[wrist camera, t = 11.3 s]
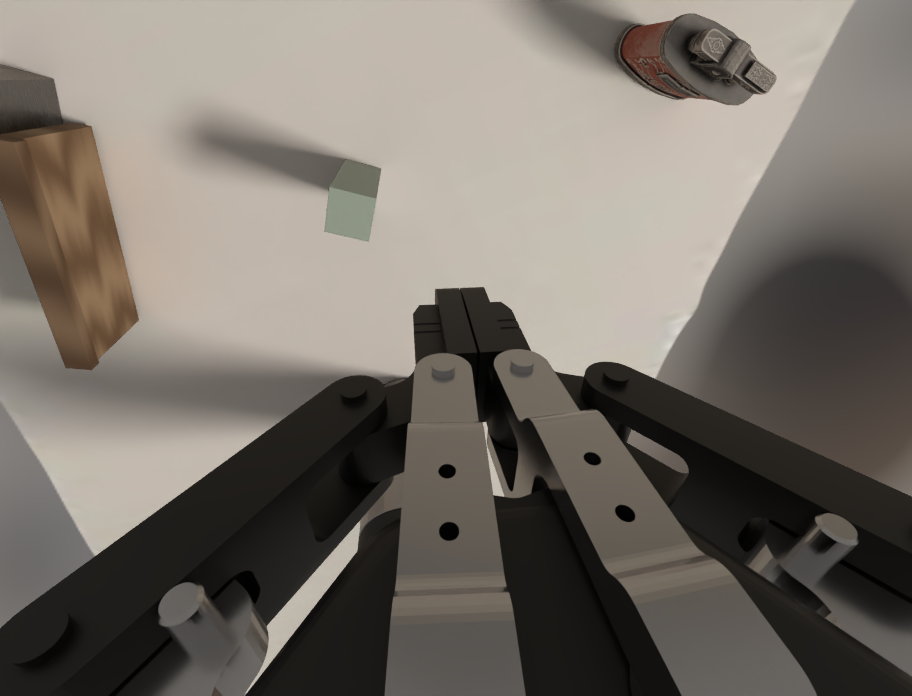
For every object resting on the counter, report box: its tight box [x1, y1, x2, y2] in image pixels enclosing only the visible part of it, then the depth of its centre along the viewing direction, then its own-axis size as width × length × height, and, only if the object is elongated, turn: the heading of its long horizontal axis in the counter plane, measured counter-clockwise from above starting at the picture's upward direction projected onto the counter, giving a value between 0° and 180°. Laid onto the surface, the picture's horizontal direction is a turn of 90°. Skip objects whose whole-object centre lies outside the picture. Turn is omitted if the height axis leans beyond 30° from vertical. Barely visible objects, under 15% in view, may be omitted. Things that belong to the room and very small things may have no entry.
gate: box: [0, 123, 139, 370], centre depth 32 cm, size 17×2×8 cm, turn 168°
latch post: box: [324, 159, 381, 242], centre depth 31 cm, size 3×3×10 cm
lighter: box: [614, 13, 777, 105], centre depth 29 cm, size 8×3×10 cm, turn 65°
